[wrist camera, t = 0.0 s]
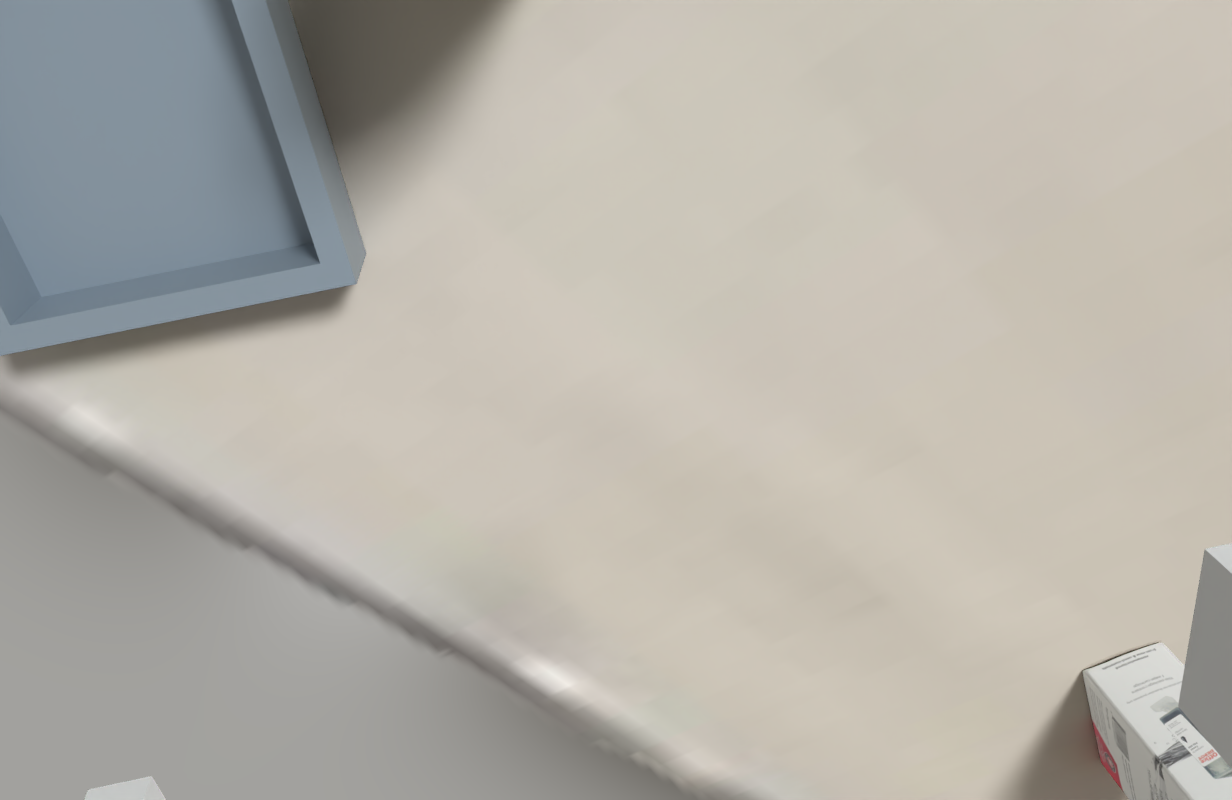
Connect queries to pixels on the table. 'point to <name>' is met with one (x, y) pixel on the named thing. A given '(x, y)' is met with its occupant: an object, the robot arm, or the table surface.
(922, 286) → the table surface
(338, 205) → the parts tray
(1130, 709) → the ink box
